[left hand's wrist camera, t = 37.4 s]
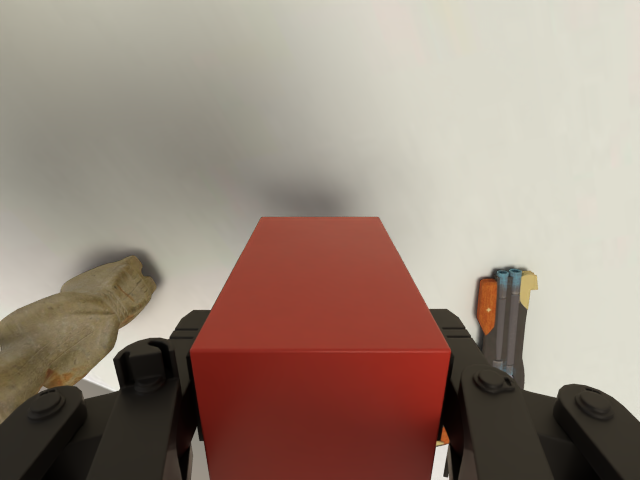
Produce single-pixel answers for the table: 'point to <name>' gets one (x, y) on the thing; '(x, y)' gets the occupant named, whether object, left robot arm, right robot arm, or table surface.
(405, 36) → the table surface
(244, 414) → the block
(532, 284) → the toy gun
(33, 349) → the sculpture
